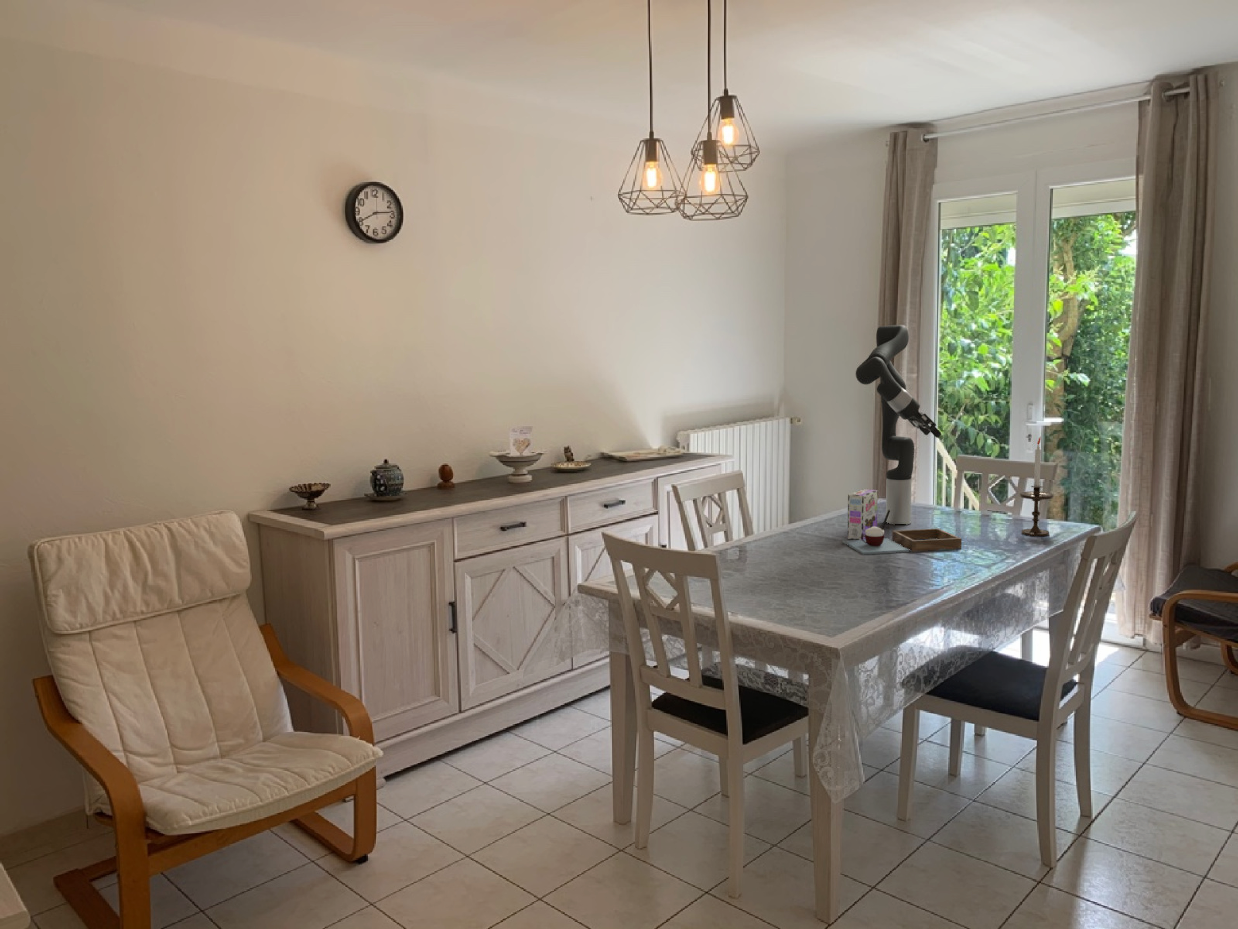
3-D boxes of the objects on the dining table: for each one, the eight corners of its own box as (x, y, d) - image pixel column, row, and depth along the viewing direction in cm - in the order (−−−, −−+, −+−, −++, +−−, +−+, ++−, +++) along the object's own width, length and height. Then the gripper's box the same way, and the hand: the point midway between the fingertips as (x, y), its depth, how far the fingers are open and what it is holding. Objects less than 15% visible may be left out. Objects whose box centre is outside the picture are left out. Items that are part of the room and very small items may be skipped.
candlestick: (1045, 530, 335) (1049, 434, 330) (1056, 537, 325) (1060, 437, 320) (1014, 530, 336) (1017, 434, 332) (1024, 537, 326) (1027, 438, 321)
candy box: (862, 541, 326) (863, 495, 324) (846, 539, 330) (847, 493, 328) (877, 534, 337) (878, 489, 335) (862, 532, 341) (862, 488, 339)
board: (843, 542, 325) (843, 540, 325) (887, 540, 326) (887, 538, 326) (862, 554, 307) (862, 552, 307) (909, 552, 309) (909, 549, 309)
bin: (892, 540, 326) (892, 530, 326) (938, 538, 328) (938, 528, 327) (912, 551, 309) (913, 541, 309) (961, 548, 311) (961, 538, 311)
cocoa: (860, 547, 316) (858, 512, 314) (864, 542, 322) (863, 508, 320) (888, 548, 312) (887, 513, 310) (892, 543, 317) (891, 509, 315)
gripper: (919, 396, 315) (950, 428, 318) (901, 394, 329) (932, 424, 332) (904, 412, 316) (935, 444, 318) (887, 409, 330) (917, 440, 332)
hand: (933, 434), depth 325 cm, fingers open, 8 cm apart
